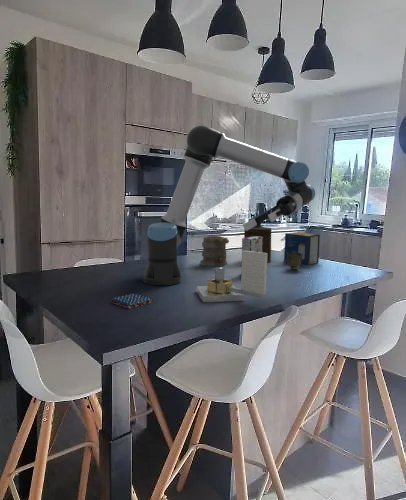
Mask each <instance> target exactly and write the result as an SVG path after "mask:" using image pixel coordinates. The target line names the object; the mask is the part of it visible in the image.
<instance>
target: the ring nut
mask: <svg viewBox="0 0 406 500" xmlns="http://www.w3.org/2000/svg"><path fill="white" fill-rule="evenodd" d="M267 255H268V253H262V252H254V251H242V250H241V277H240V278H241V281H240V287H236V286H235V287H232V285H233V280H232V279H233V278H232V277H231V278H230V277H229V278H227V279H226V278H224V283H223V281H219V283H215V278H207V280H206V286H207V290H208V291H211V292H215V293H216V292H217V293H226V292H234V293H239V294H244V295H245V296H249V297H254V298H259V299H264V298H265V294H267V275H268V273H267V272H268V263H267Z"/></svg>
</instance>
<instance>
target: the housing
mask: <svg viewBox="0 0 406 500" xmlns="http://www.w3.org/2000/svg"><path fill="white" fill-rule="evenodd" d="M214 270H215V271H214V279H215V283H219V281H223V283H224V279H225V267H224V266H215V267H214ZM232 287H236V286H235V285H234V284H232ZM195 288H196V290H195V291H196V294H197V295H198V296H199V298H200V299H201V301H202V302H203V303H216V302H223V303H224V302H242V301H243V302H244V301H245V296H246V295H244V294H239V293H234V292H226V293H217V292H216V293H215V292H211V291H208V290H207V285H201V286H200V285H196V287H195Z"/></svg>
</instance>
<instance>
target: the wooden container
mask: <svg viewBox="0 0 406 500" xmlns="http://www.w3.org/2000/svg"><path fill="white" fill-rule="evenodd" d="M243 231H244V237H243V238H248V237H254V236H257V237H263V245H262V253H268V255H267V262H268V263H271V261H272V228H270V227H263V225H262V222H260V223H258V224H257V226H256V227H255V226H254V227H252V228H251V229H249V230H247V231H245V229H244V230H243Z"/></svg>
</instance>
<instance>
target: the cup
mask: <svg viewBox="0 0 406 500" xmlns="http://www.w3.org/2000/svg"><path fill="white" fill-rule="evenodd" d="M302 255H303V254H302ZM302 255H301V254H300V253H296V254H295V253H293V252H292V253H287V261H286V263H287V265H288V266H290V267H289V269H290V270H292V271H297V270H298V268H299V266H301V265H302V264H301V260H302Z"/></svg>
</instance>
